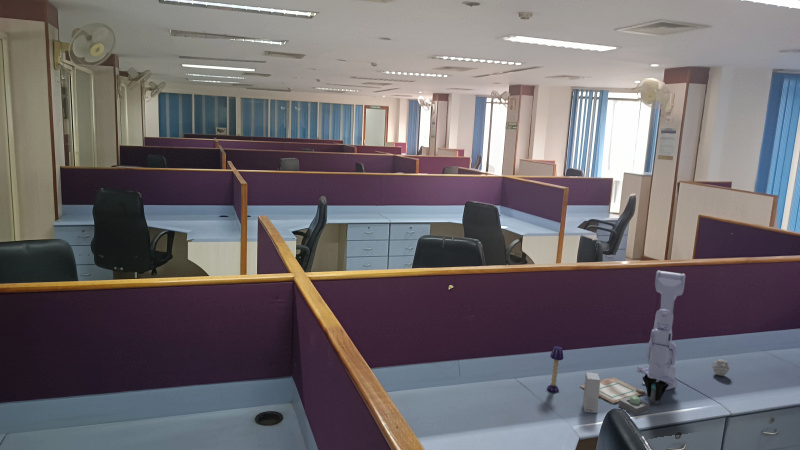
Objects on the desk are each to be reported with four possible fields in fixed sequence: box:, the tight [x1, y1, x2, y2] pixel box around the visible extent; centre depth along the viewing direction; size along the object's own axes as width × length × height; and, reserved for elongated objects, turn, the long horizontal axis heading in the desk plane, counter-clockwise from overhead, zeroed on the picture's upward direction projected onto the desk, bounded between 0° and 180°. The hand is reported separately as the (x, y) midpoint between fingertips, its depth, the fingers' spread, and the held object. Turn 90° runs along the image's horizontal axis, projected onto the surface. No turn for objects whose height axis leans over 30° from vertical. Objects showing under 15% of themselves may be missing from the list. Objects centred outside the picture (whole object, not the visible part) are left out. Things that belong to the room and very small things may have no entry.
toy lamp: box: [546, 345, 564, 394], centre depth 208 cm, size 5×5×17 cm
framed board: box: [579, 376, 647, 405], centre depth 211 cm, size 18×15×1 cm
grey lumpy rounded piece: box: [711, 358, 730, 377], centre depth 228 cm, size 6×7×7 cm
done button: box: [629, 396, 641, 406], centre depth 197 cm, size 3×3×3 cm
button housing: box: [618, 397, 651, 416], centre depth 197 cm, size 7×7×2 cm
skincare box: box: [582, 371, 601, 414], centre depth 196 cm, size 6×4×12 cm
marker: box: [649, 383, 659, 406], centre depth 202 cm, size 3×3×7 cm
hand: (654, 398), depth 202 cm, fingers closed on marker, 3 cm apart
